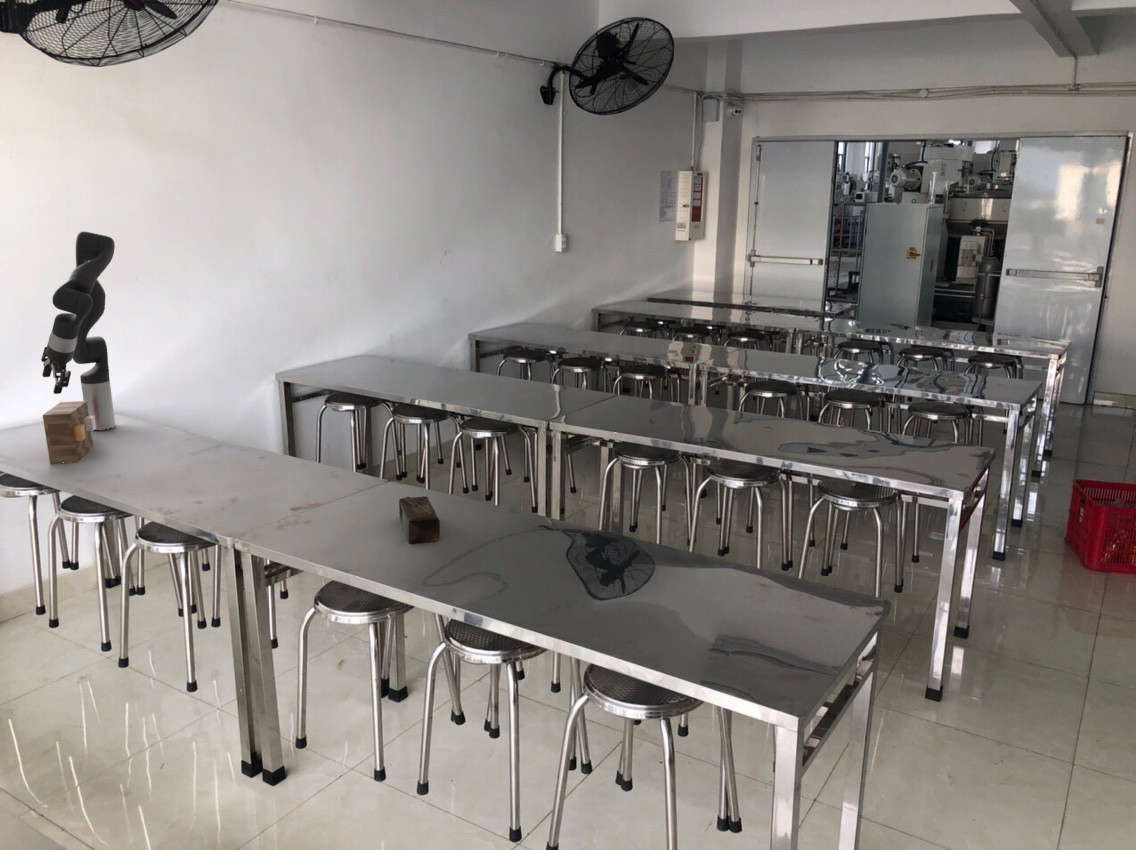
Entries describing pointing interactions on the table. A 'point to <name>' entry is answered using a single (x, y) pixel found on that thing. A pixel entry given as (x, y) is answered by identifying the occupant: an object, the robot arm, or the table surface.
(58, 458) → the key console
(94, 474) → the table surface
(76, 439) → the orange key
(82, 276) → the robot arm
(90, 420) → the white key
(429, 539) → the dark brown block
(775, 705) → the table surface
